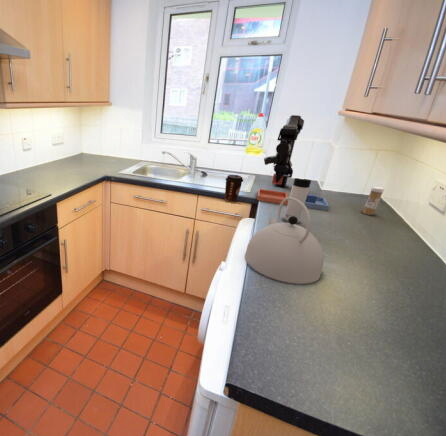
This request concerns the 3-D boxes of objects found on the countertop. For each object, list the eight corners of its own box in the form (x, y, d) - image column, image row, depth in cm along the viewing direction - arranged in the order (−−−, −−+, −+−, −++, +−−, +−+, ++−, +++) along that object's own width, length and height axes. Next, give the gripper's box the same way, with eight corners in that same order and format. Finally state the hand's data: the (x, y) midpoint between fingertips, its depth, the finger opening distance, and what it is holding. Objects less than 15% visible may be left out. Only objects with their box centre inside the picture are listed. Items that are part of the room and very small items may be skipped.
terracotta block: (271, 181, 162) (273, 173, 160) (281, 182, 160) (283, 174, 158) (271, 183, 158) (273, 175, 156) (281, 184, 156) (283, 176, 155)
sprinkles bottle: (360, 212, 147) (369, 186, 142) (367, 211, 148) (377, 185, 142) (368, 215, 143) (378, 188, 137) (376, 215, 143) (387, 188, 138)
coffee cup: (237, 197, 162) (241, 174, 157) (241, 203, 154) (246, 178, 149) (220, 196, 163) (224, 173, 158) (224, 202, 155) (228, 177, 150)
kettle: (233, 243, 112) (245, 186, 103) (294, 245, 112) (310, 188, 103) (260, 282, 89) (278, 212, 80) (336, 285, 89) (363, 215, 80)
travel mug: (284, 222, 132) (296, 179, 124) (282, 217, 137) (293, 175, 130) (300, 225, 130) (313, 181, 122) (297, 219, 135) (310, 177, 128)
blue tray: (292, 197, 165) (293, 193, 164) (323, 201, 160) (324, 197, 159) (294, 205, 153) (295, 201, 152) (327, 210, 148) (329, 205, 147)
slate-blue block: (303, 200, 159) (306, 192, 157) (313, 202, 157) (316, 194, 156) (304, 203, 155) (307, 195, 153) (314, 204, 154) (317, 196, 152)
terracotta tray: (257, 192, 171) (258, 188, 170) (286, 197, 166) (287, 192, 165) (256, 200, 159) (257, 195, 158) (287, 204, 154) (288, 200, 153)
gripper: (266, 147, 164) (260, 175, 170) (266, 153, 148) (259, 183, 154) (289, 149, 159) (282, 178, 165) (291, 155, 144) (283, 186, 150)
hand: (276, 181), depth 159 cm, fingers closed on terracotta block, 4 cm apart
